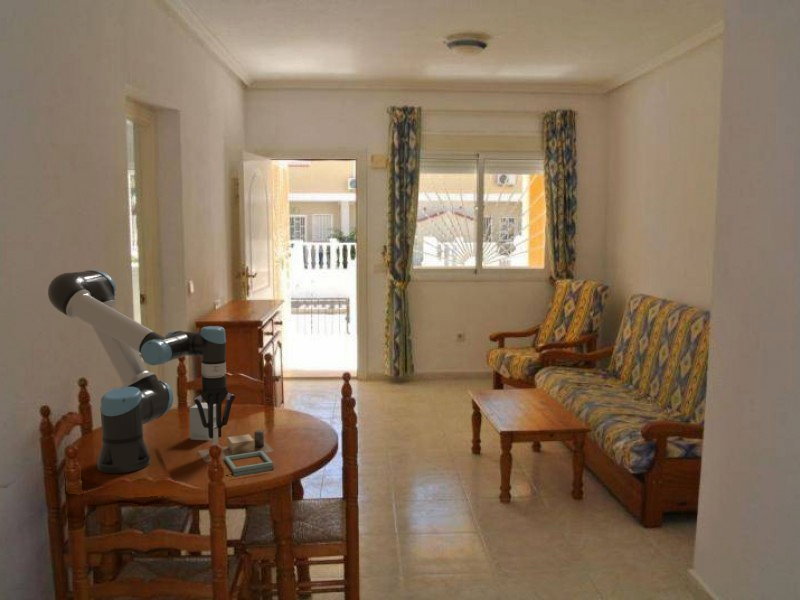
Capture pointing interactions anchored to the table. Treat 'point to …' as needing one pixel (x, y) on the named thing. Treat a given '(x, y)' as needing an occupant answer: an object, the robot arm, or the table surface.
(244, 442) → the beige wooden block
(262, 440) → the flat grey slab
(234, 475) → the grey-green flat square frame
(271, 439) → the table surface
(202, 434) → the supplement box
